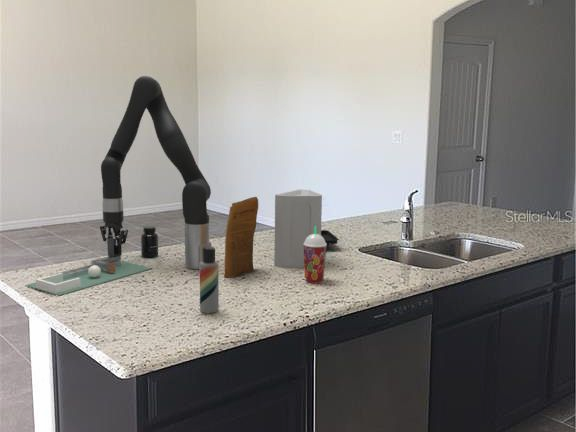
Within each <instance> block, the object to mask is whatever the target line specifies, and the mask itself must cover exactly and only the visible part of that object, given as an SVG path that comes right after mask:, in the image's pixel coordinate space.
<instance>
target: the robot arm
mask: <svg viewBox="0 0 576 432" xmlns="http://www.w3.org/2000/svg"><path fill="white" fill-rule="evenodd" d="M131 90H132V91H131V94H130V97H129V101H128V105H127V107H126V109H125V112H124V114H123V117H122V119H121V121H120V124H119V126H118V128H117V130H116V131H115V133H114V136H113V138H112V141H111V143H110V148H109V149H108V151H107V153H106V155H105V157H104V159H103V160H102V162H101V165H100V172H101V173H100V174H101V180H102V181H101V182H102V204H101V205H102V222H103V223H104V225H101V226H99V230H100V234H101V237H102V241H103V242H105V243H106V244H107V238H111V237H113V239H114V240H115V252H116V255H120V254H121V252H122V245H123V244H124V245H125V244H126V241H127V238H128V233H129V229H125V228H124V227H123V222H124V217H125V216H124V201H123V200H124V199H123V188H122V187H123V186H122V184H121V180H122V179H121V178H122V177H121V170H122V167H123V165H124V162H125V159H126V157H127V155H128V153H129V152H130V151H131V149H132V147H133V143H134V142H135V140H136V137H137V134H138V131H139V128H140V124H141V121H142V117H143V116H144V113H145V112H146V110H147V112H148V113H149V115H150V117H151V120H152V123H153V124H152V125H153V127H154V130H155V134H156V137H157V140H158V143H159V144H160V146H161V148H162V151H163V152H164V155H166V157H167V158H168V159H169V161H170V162H171V163H172V164H173V166H174V167H175V168H176V169H177V171H178V172H179V174H180V175H181V177H182V180H183V182H184V184H185V185H184V187H183V189H182V193H181V195H182V196H181V201H182V202H181V203H182V216H183V218H184V257H185V258H184V259H185V260H184V261H185V262H184V264H185V265H184V266H185V268H186V269H188V270H200V262H202V261H203V248H204V247H205V246H207V247H212V242H211V241H210V216H209V214H208V212H207V210H208V209H207V208H208V207H207V201H208V200H209V199H210V197H211V194H212V191H211V190H212V189H211V186H210V185H209V183H208V181H207V179H206V178H205V176H204V174H203V173H202V171H201V169H200V167H199V166H198V164H197V163H196V159H195V158H194V155H193V153H192V150H191V149H190V146H189V144H188V142H187V139H186V136H184V134H183V131H182V129H181V128H180V126H179V124H178V122H177V120H176V119H175V117H174V115H173V114H172V112H171V110H170V107H169V106H168V103H167V101H166V98H165V96H164V93H163V90H162V87H161V84H160V82H158V81H157V80H156V79H155V78H153V77H151V76H148V75H142V76H140V77H138V78H137V79H135V81H134V83H133V86H132V89H131ZM118 239H119V242H118Z"/></svg>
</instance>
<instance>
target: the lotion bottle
mask: <svg viewBox="0 0 576 432" xmlns="http://www.w3.org/2000/svg"><path fill="white" fill-rule="evenodd" d="M219 279H220V277H219V262H218V261H216V248H215V247H213V246H211V247H207V246H205V247H204V248H203V261H202V262H200V269H199V311H200V312H201V313H203V312H204V314H214V312H215V313H217V312H218V311H219V310H220V308H219V307H220V306H219V305H220V304H219V303H220V302H219V301H220V299H219V298H220V297H219V295H220V293H219V291H220V290H219V286H220V285H219V282H220V281H219Z"/></svg>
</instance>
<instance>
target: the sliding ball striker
mask: <svg viewBox="0 0 576 432" xmlns="http://www.w3.org/2000/svg"><path fill="white" fill-rule="evenodd" d="M106 238H107V237H106ZM118 242H119V239H118ZM106 244H107V256H105V257H100V258H96V259H92V260H91V265H92V266H93V265H97V266H101V267H105V268H106V272H109V273H115V263H114V262H115V261H119V260H120V261H122V255H123V253H122V252H121V254H120V255H116V252H115V240H114V239H113V237H111V238H107V243H106Z"/></svg>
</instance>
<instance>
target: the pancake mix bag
mask: <svg viewBox="0 0 576 432" xmlns="http://www.w3.org/2000/svg"><path fill="white" fill-rule="evenodd" d="M258 211H259V199H258V197H257V196H253V197H252V196H251V197H248V198H246V199H243V200H240V201H237V202H232V203H231V206H229V212H228V215H227V216H228V217H227V222H226V228H225V238H224V239H225V240H224V274H223V277H224V278H236V276H237V277H239V276H241V275H244V274H247V273H250V272H253V271H254V237H255V232H256V229H257V216H258V213H259V212H258Z"/></svg>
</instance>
